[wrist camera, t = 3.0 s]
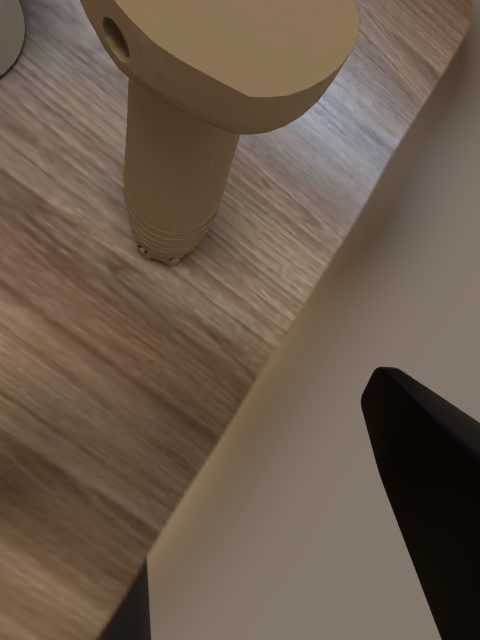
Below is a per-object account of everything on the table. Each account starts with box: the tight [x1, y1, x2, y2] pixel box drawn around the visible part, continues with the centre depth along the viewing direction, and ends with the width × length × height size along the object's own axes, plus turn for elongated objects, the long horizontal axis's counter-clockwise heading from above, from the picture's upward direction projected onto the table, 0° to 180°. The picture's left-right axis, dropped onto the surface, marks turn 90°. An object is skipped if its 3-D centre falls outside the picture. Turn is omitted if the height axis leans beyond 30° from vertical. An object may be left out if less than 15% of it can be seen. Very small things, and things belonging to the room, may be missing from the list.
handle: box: [80, 0, 361, 266], centre depth 15 cm, size 5×6×15 cm
